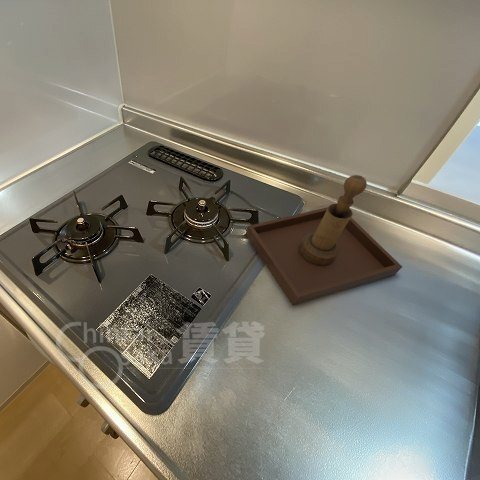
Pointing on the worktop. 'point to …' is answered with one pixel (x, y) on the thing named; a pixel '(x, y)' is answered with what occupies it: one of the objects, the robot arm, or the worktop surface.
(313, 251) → the mortar and pestle
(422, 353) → the worktop surface
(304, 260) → the tray
